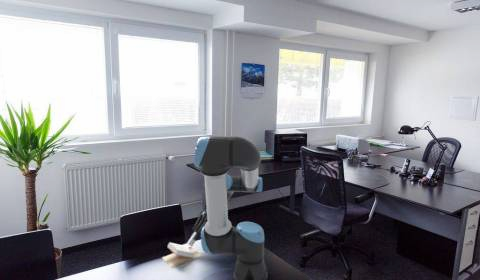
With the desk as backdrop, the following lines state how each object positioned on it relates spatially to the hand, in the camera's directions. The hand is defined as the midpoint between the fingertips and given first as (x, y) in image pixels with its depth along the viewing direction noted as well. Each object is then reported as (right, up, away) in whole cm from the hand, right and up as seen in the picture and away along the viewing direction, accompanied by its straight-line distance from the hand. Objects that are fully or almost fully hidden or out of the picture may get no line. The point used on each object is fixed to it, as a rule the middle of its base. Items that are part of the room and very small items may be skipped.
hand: (189, 244), depth 147 cm
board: (-3, -6, -2) cm, 7 cm away
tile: (0, -3, 0) cm, 4 cm away
